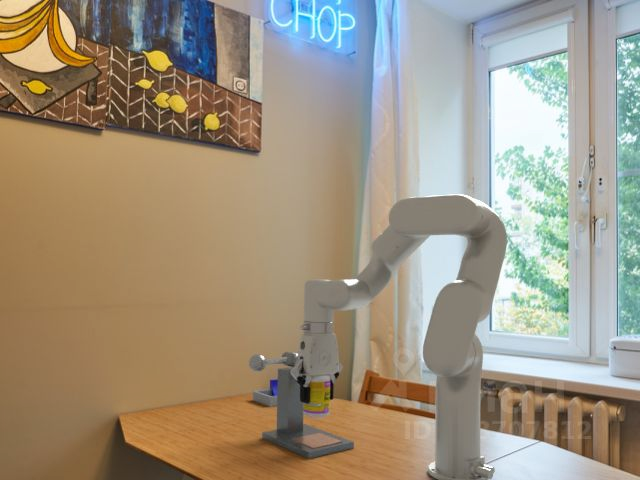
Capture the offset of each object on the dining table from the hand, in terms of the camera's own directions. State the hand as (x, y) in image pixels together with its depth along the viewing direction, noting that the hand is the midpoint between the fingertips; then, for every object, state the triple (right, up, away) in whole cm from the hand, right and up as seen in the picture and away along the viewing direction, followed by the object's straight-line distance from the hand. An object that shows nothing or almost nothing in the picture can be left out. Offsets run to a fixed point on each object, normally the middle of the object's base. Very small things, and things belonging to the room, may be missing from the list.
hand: (316, 400), depth 141 cm
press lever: (-7, +6, +9) cm, 13 cm away
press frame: (-3, -12, +2) cm, 12 cm away
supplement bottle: (0, -4, 0) cm, 4 cm away
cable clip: (-12, -14, +50) cm, 53 cm away
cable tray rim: (-12, -14, +50) cm, 53 cm away
